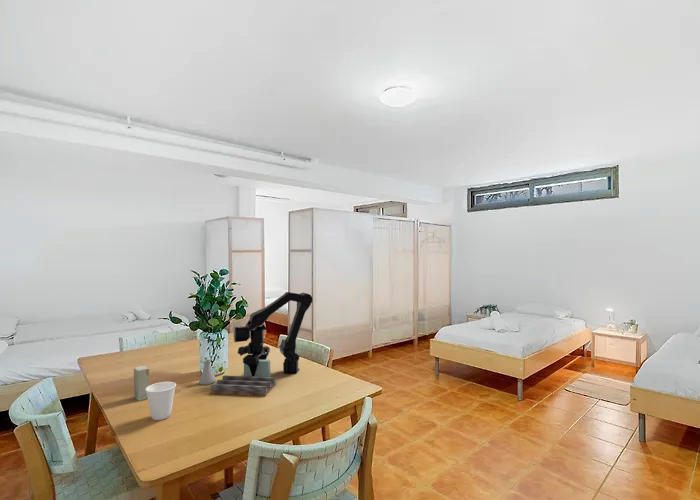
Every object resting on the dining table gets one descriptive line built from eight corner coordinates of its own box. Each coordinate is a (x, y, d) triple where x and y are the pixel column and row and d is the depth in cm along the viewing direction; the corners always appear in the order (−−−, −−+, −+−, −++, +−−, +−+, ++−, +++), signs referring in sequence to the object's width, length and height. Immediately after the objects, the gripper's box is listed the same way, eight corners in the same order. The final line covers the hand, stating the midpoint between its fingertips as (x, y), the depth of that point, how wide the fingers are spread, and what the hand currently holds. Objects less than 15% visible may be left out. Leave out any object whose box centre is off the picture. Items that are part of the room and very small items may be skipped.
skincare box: (150, 398, 148) (150, 368, 148) (138, 401, 145) (138, 370, 145) (145, 393, 153) (145, 364, 153) (133, 397, 150) (133, 367, 150)
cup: (157, 410, 137) (156, 381, 137) (182, 411, 136) (181, 381, 136) (139, 422, 127) (138, 391, 127) (166, 423, 126) (165, 392, 126)
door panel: (270, 376, 172) (270, 359, 172) (268, 378, 170) (268, 361, 170) (246, 375, 174) (245, 359, 174) (243, 377, 172) (243, 360, 172)
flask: (210, 385, 161) (209, 363, 161) (195, 384, 163) (195, 362, 163) (219, 380, 168) (218, 358, 168) (204, 379, 170) (204, 357, 170)
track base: (275, 385, 162) (275, 377, 162) (265, 395, 150) (265, 387, 150) (224, 383, 165) (224, 375, 165) (210, 393, 153) (210, 385, 153)
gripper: (248, 334, 182) (248, 365, 182) (231, 344, 164) (232, 379, 164) (269, 335, 181) (270, 366, 181) (255, 345, 162) (255, 380, 162)
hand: (257, 372), depth 172 cm, fingers open, 9 cm apart
